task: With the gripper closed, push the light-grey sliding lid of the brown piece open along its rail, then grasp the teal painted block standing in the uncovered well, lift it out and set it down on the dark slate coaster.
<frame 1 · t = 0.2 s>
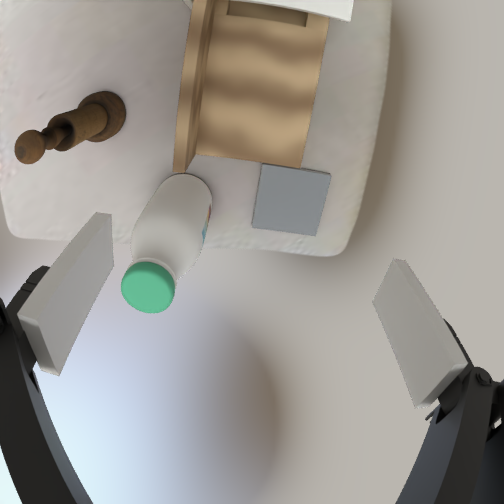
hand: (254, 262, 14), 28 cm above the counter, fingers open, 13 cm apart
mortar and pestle: (104, 114, 35), on the counter
milk bottle: (184, 198, 42), on the counter
coaster: (290, 199, 42), on the counter
brown piece: (260, 48, 31), on the counter
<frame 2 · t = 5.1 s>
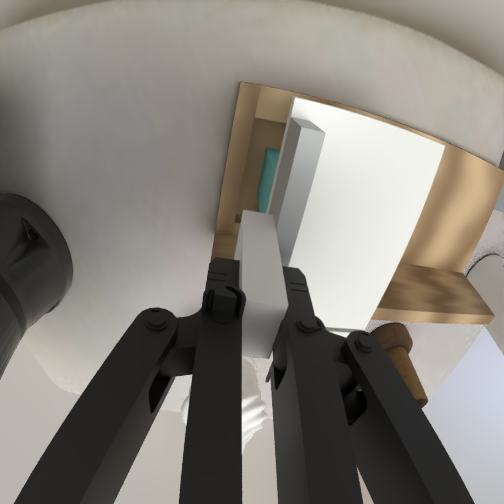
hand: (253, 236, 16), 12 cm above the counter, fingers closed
lid: (329, 227, 20), point 8 cm above the counter, slide at 1.2 cm, touching gripper
block: (284, 173, 26), resting on brown piece
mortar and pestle: (385, 338, 39), on the counter
milk bottle: (482, 276, 34), on the counter
soft serve ice cream cone: (227, 332, 37), on the counter
brown piece: (376, 192, 28), on the counter
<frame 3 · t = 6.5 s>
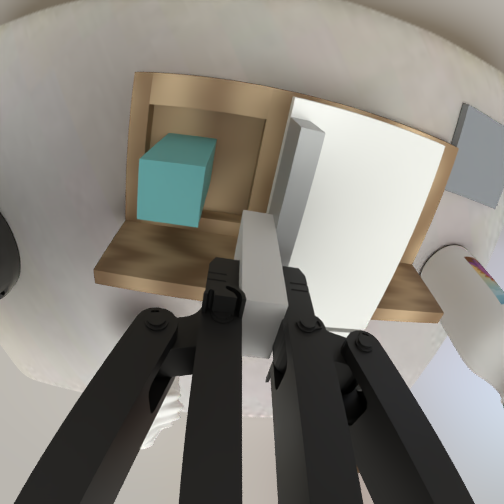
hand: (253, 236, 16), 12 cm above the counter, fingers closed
lid: (329, 227, 20), point 8 cm above the counter, slide at 9.3 cm, touching gripper
block: (189, 158, 25), resting on brown piece
milk bottle: (443, 269, 33), on the counter
coaster: (479, 158, 25), on the counter
soft serve ice cream cone: (160, 322, 36), on the counter
brown piece: (294, 174, 27), on the counter
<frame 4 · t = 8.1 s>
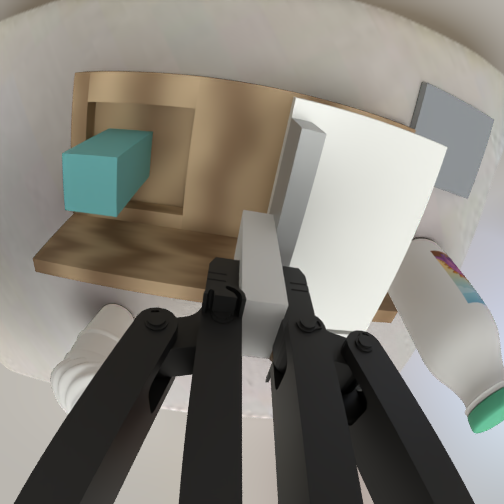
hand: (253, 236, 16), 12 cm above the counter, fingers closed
lid: (330, 228, 20), point 8 cm above the counter, slide at 14.7 cm, touching gripper
block: (129, 152, 24), resting on brown piece
milk bottle: (411, 265, 32), on the counter
coaster: (446, 142, 24), on the counter
soft serve ice cream cone: (118, 315, 35), on the counter
brown piece: (233, 164, 26), on the counter
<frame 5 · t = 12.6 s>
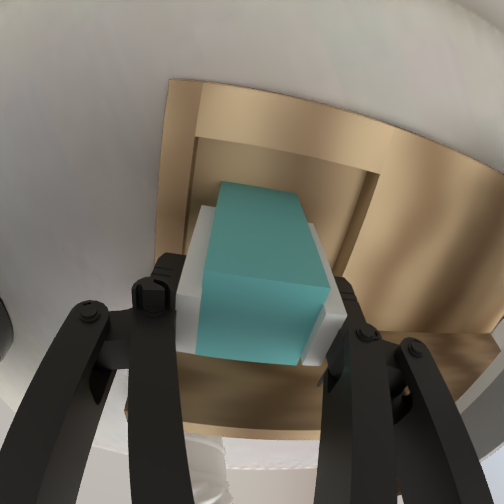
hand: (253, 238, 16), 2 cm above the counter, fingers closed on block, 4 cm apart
block: (252, 220, 17), resting on brown piece, touching gripper
soft serve ice cream cone: (193, 399, 28), on the counter
brown piece: (391, 242, 19), on the counter
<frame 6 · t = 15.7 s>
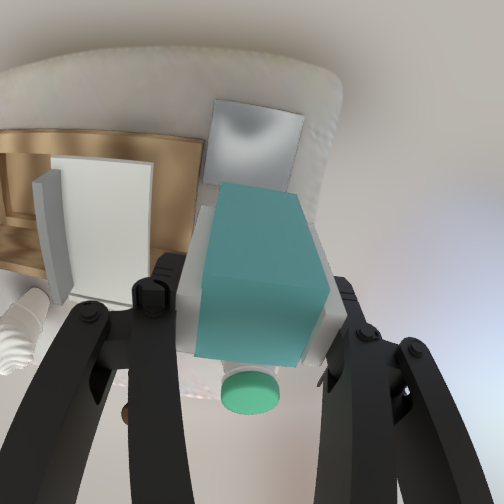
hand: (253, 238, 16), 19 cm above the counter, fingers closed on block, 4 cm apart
lid: (109, 230, 27), point 8 cm above the counter, slide at 14.7 cm
block: (252, 221, 17), point 17 cm above the counter, touching gripper
milk bottle: (247, 259, 40), on the counter
coaster: (251, 147, 32), on the counter
soft serve ice cream cone: (40, 296, 43), on the counter
brown piece: (84, 186, 33), on the counter
when the fingers open (4 cm above the counter, at t = 18.8 s): block stays where it is, resting on coaster.
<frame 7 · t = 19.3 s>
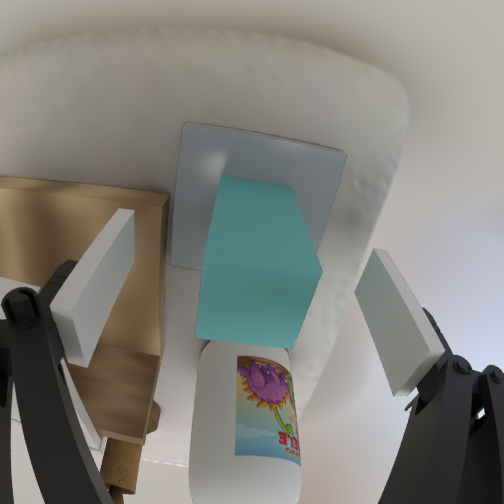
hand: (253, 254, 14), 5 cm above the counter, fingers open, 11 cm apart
lid: (25, 352, 15), point 8 cm above the counter, slide at 14.4 cm, touching gripper
block: (250, 213, 18), point 1 cm above the counter, touching coaster
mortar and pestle: (133, 403, 32), on the counter
milk bottle: (244, 356, 27), on the counter
coaster: (251, 206, 19), on the counter
brown piece: (11, 255, 21), on the counter
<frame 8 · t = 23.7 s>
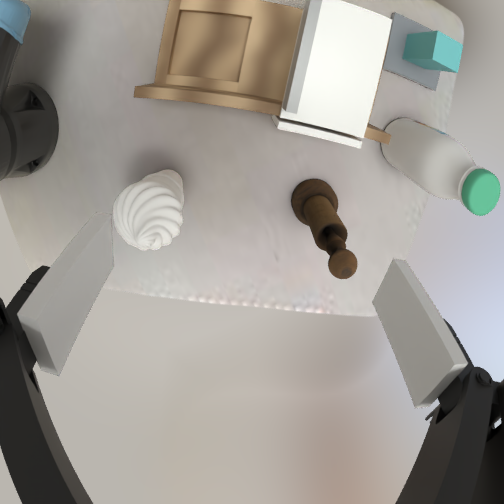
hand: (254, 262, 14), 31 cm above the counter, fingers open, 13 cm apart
lid: (331, 69, 28), point 8 cm above the counter, slide at 13.8 cm
block: (416, 51, 32), point 1 cm above the counter, touching coaster
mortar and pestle: (313, 199, 46), on the counter
milk bottle: (402, 142, 41), on the counter
coaster: (413, 51, 33), on the counter
soft serve ice cream cone: (168, 182, 44), on the counter
brown piece: (272, 55, 34), on the counter
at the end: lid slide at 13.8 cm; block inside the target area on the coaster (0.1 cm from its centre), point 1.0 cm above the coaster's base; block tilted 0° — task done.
